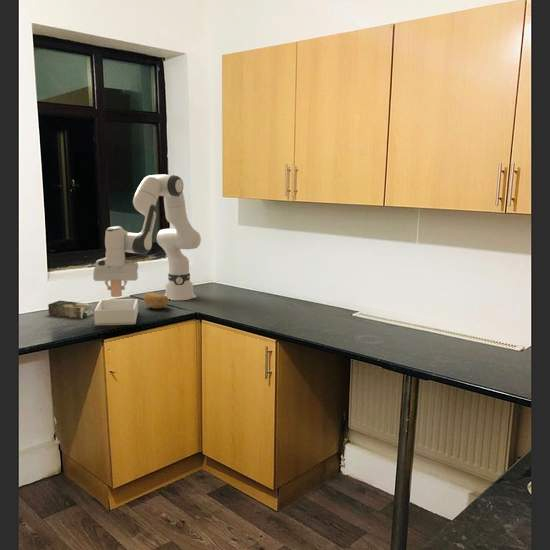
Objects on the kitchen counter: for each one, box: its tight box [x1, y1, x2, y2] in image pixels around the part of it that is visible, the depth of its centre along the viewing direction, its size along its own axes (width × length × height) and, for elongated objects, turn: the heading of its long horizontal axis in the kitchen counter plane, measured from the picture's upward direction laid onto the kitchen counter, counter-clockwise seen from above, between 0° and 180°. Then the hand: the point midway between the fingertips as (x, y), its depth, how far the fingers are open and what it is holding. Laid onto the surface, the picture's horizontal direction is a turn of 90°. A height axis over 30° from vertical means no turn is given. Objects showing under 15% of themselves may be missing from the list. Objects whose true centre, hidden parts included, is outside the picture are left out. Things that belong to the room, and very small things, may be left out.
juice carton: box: [47, 300, 94, 319], centre depth 271 cm, size 20×10×6 cm, turn 73°
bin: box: [93, 298, 139, 326], centre depth 265 cm, size 22×18×7 cm
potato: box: [143, 292, 169, 310], centre depth 287 cm, size 10×14×8 cm
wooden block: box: [110, 280, 123, 298], centre depth 263 cm, size 5×5×8 cm
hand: (116, 289), depth 263 cm, fingers closed on wooden block, 5 cm apart
